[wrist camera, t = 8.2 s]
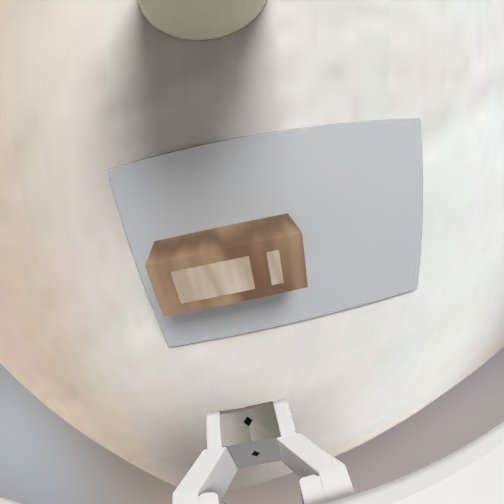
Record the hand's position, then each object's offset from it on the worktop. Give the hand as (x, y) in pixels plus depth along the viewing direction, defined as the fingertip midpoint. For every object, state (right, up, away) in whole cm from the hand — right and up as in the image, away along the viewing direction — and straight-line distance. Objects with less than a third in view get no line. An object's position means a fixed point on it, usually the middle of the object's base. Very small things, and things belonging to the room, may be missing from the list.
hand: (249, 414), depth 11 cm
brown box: (+3, +6, +12) cm, 14 cm away
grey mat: (+3, +7, +14) cm, 16 cm away
